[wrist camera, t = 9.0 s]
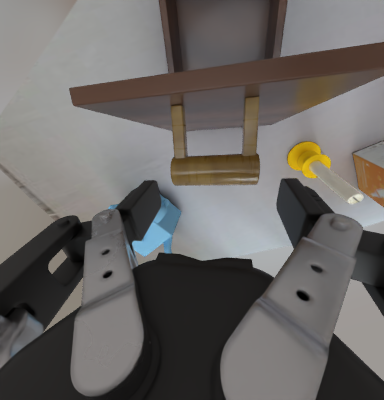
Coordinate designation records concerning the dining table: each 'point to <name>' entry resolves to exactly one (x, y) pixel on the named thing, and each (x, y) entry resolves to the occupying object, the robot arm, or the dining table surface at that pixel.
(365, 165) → the small box
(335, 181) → the candle
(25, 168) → the dining table surface
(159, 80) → the lid
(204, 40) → the chest
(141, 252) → the teapot
